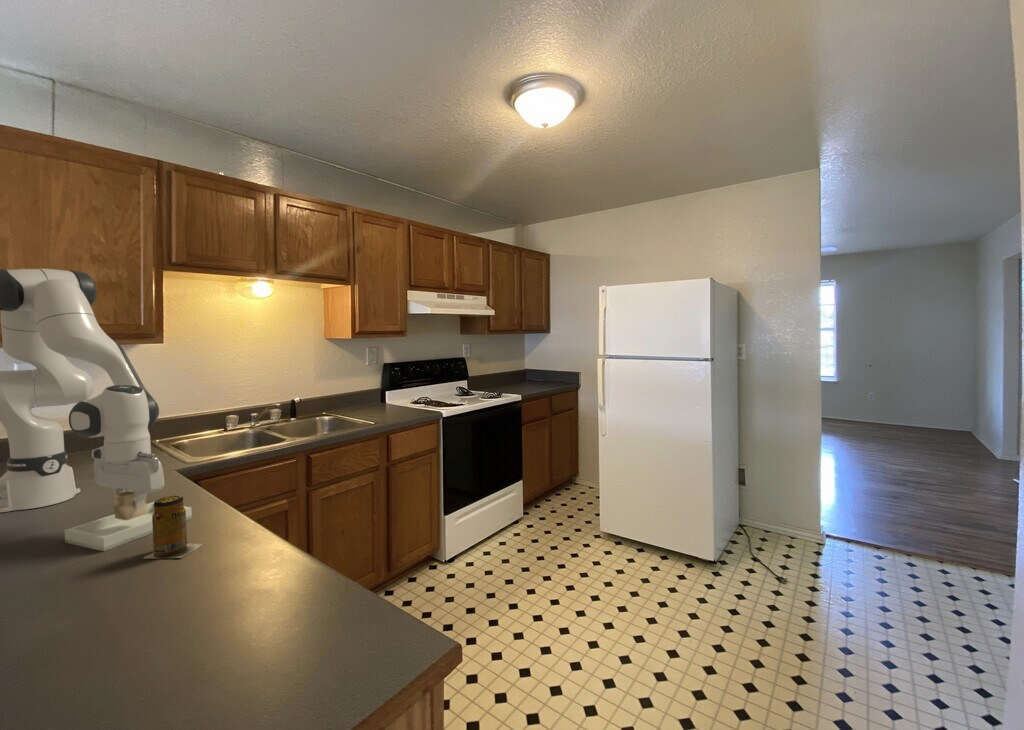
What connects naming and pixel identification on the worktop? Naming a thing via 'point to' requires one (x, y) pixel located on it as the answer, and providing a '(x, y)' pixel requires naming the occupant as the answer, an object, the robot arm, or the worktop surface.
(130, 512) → the birch block
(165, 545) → the condiment
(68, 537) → the shallow rimmed tray
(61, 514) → the worktop surface
